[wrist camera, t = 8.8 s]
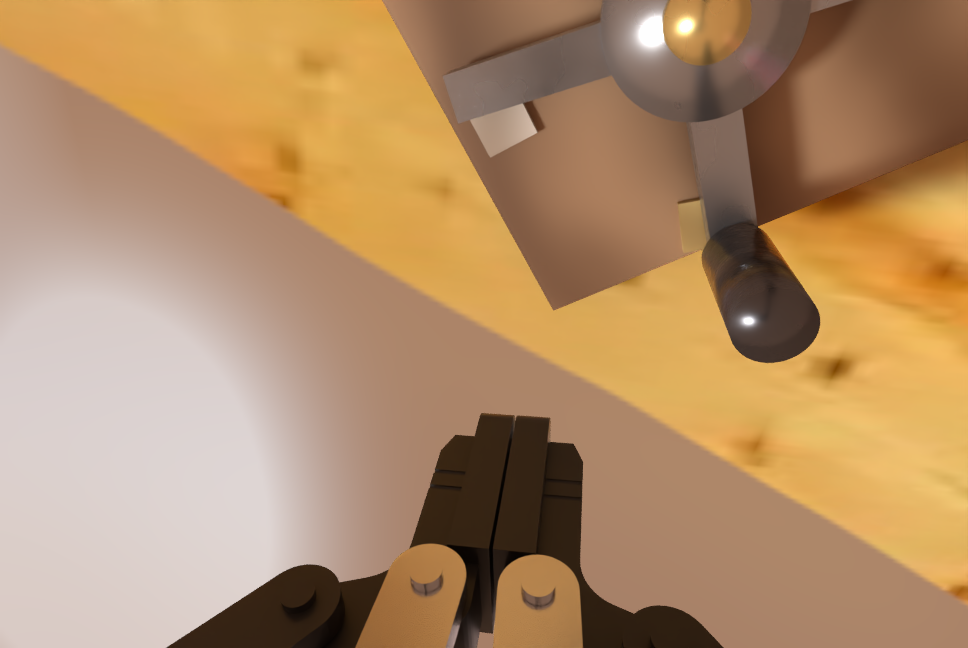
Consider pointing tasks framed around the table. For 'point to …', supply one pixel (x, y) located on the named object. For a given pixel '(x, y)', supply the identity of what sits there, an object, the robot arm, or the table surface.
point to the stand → (665, 144)
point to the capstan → (710, 123)
